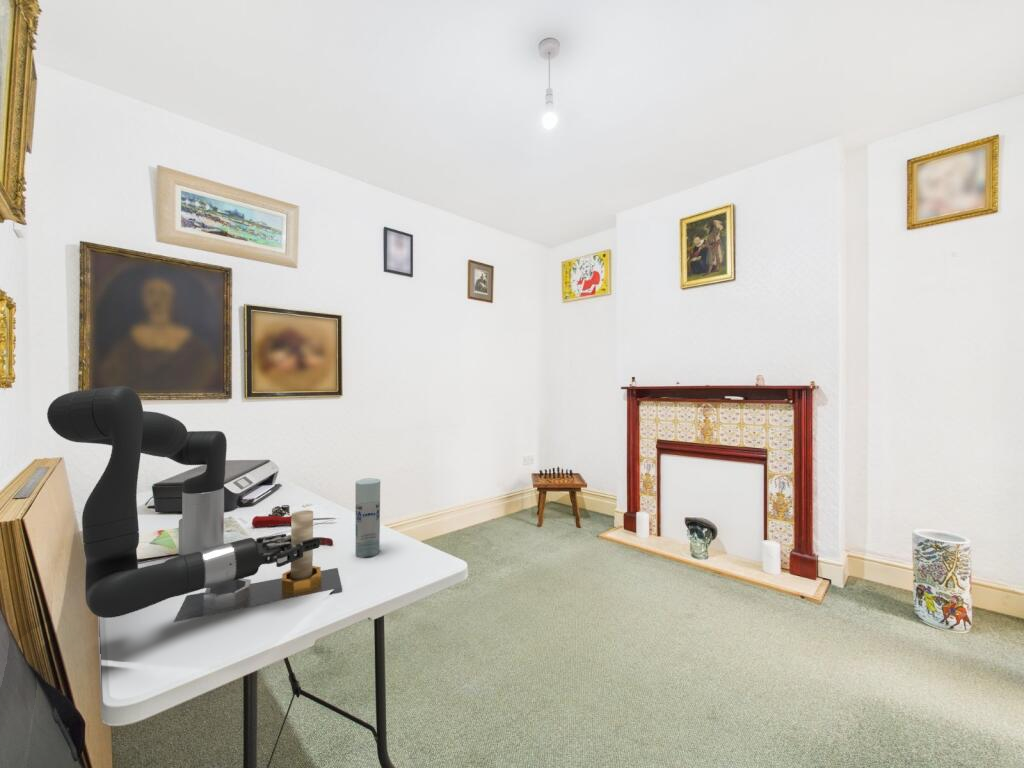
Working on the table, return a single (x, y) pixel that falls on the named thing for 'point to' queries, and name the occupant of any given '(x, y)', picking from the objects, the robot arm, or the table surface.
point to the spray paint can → (367, 517)
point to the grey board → (256, 593)
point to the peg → (299, 533)
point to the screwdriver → (275, 520)
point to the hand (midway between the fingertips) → (314, 539)
